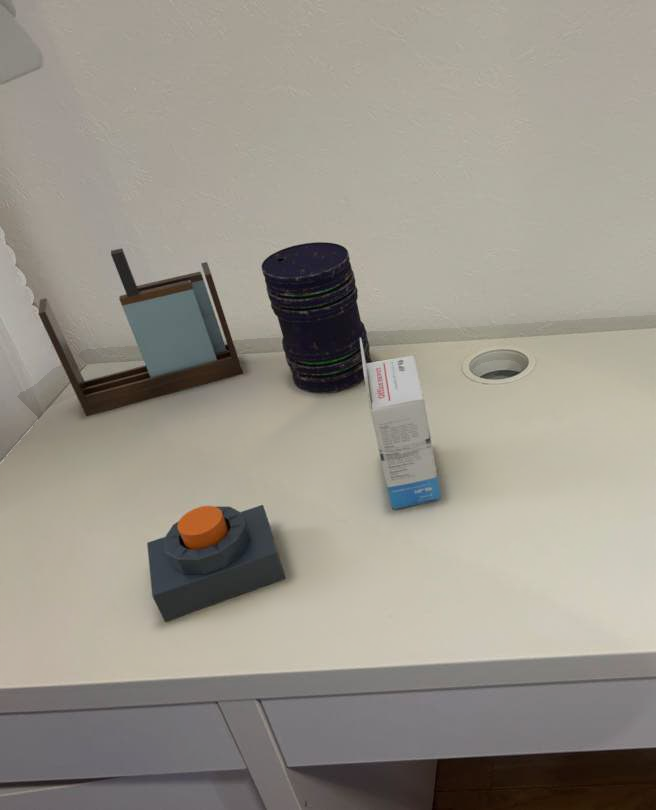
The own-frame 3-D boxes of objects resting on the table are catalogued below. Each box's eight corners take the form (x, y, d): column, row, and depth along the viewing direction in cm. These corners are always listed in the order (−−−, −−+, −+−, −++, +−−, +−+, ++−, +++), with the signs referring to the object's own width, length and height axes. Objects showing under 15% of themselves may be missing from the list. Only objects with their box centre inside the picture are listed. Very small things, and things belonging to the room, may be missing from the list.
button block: (165, 622, 66) (144, 580, 63) (159, 568, 71) (139, 527, 68) (286, 578, 69) (271, 536, 66) (271, 530, 75) (257, 489, 72)
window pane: (152, 382, 95) (101, 256, 86) (151, 378, 96) (101, 252, 87) (218, 365, 98) (176, 240, 89) (217, 360, 99) (175, 236, 89)
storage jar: (382, 350, 101) (359, 240, 93) (362, 393, 93) (335, 276, 85) (306, 352, 102) (277, 243, 94) (280, 394, 94) (246, 279, 86)
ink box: (443, 500, 76) (420, 370, 68) (391, 511, 76) (362, 381, 67) (431, 449, 83) (409, 325, 75) (383, 459, 83) (356, 335, 74)
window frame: (86, 416, 93) (37, 313, 86) (86, 399, 96) (39, 299, 89) (243, 373, 99) (211, 273, 91) (238, 359, 102) (207, 261, 94)
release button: (186, 555, 66) (179, 540, 65) (181, 529, 68) (175, 514, 67) (230, 540, 67) (224, 525, 66) (225, 515, 70) (219, 500, 69)
